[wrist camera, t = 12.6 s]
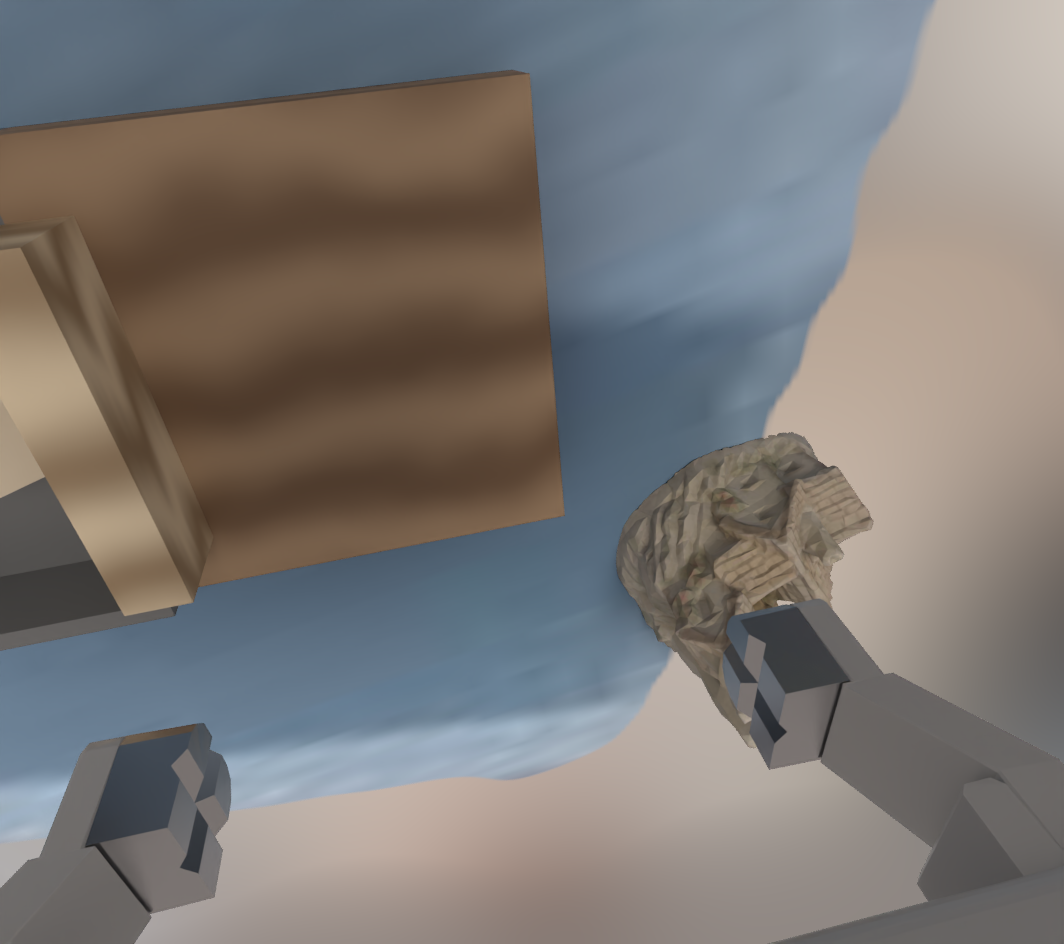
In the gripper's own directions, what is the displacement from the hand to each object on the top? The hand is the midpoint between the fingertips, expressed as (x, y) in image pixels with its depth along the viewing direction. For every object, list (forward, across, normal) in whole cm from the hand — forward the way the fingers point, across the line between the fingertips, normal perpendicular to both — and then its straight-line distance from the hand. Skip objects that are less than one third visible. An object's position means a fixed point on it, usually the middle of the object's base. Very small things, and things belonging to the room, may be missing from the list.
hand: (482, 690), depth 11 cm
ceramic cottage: (+28, -19, +24) cm, 41 cm away
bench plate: (+28, +4, +5) cm, 28 cm away
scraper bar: (+24, +14, +5) cm, 28 cm away
